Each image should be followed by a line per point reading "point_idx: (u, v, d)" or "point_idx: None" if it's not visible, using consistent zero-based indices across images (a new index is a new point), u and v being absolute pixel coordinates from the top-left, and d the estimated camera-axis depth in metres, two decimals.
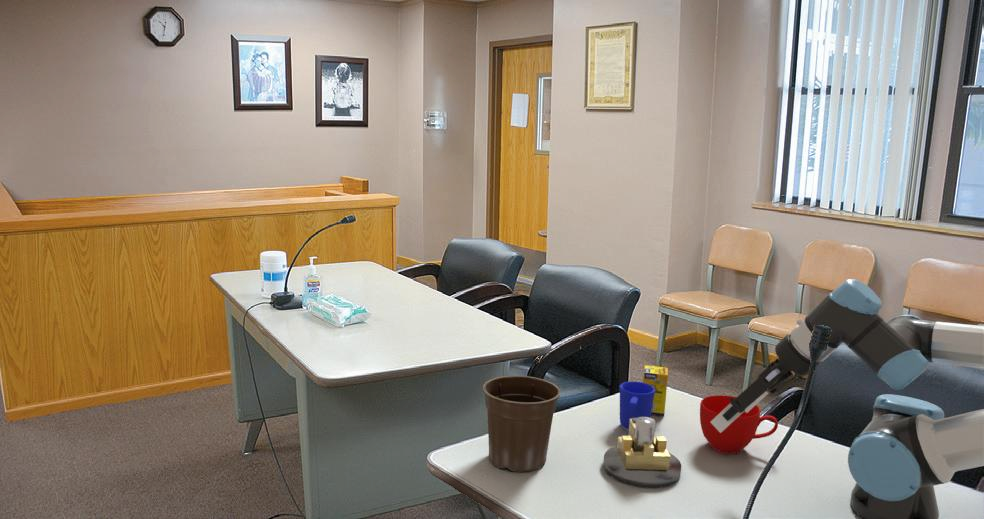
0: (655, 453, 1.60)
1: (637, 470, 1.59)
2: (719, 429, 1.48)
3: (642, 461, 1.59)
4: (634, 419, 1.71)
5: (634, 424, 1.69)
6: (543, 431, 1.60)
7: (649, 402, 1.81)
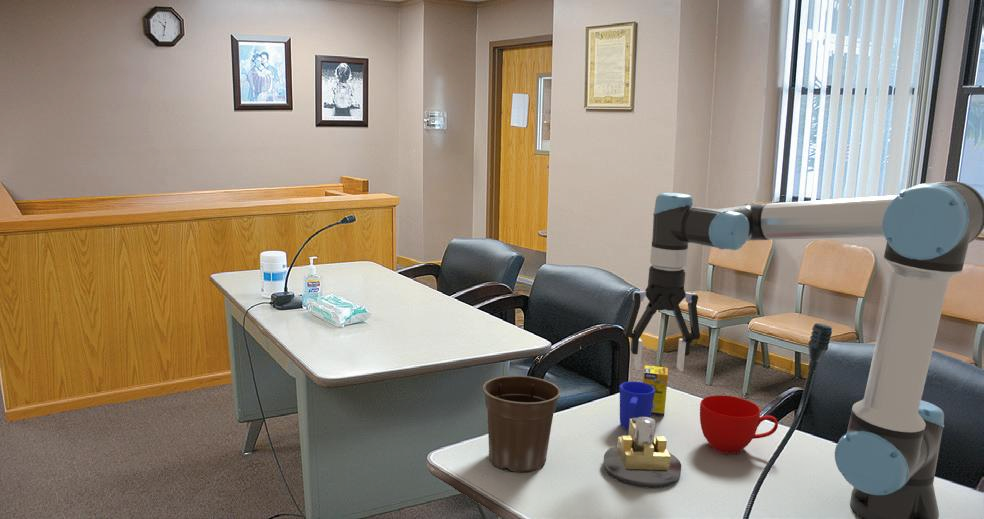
0: (655, 453, 1.60)
1: (637, 470, 1.59)
2: (636, 367, 1.68)
3: (642, 461, 1.59)
4: (634, 419, 1.71)
5: (634, 424, 1.69)
6: (543, 431, 1.60)
7: (649, 402, 1.81)
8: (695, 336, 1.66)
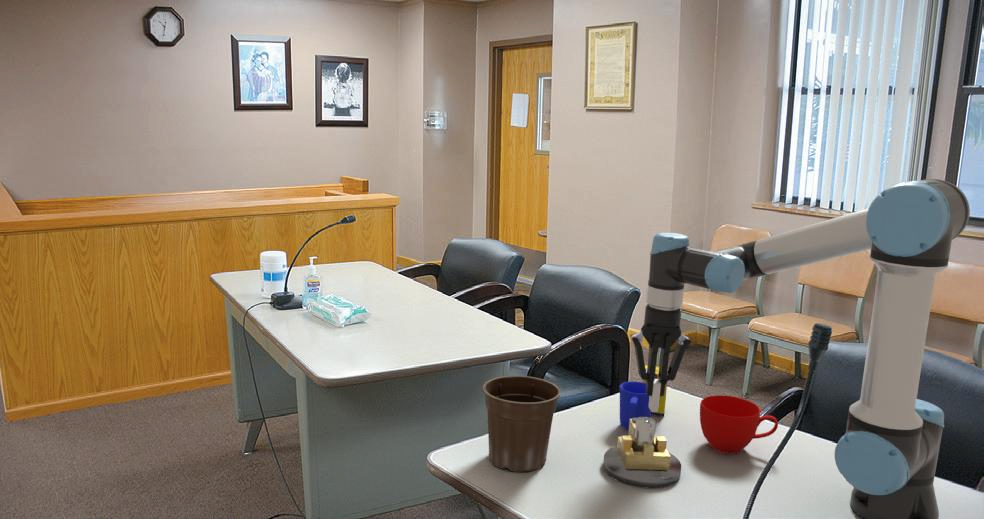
0: (655, 453, 1.60)
1: (637, 470, 1.59)
2: (650, 408, 1.70)
3: (642, 461, 1.59)
4: (634, 419, 1.71)
5: (634, 424, 1.69)
6: (543, 431, 1.60)
7: None
8: (670, 377, 1.68)
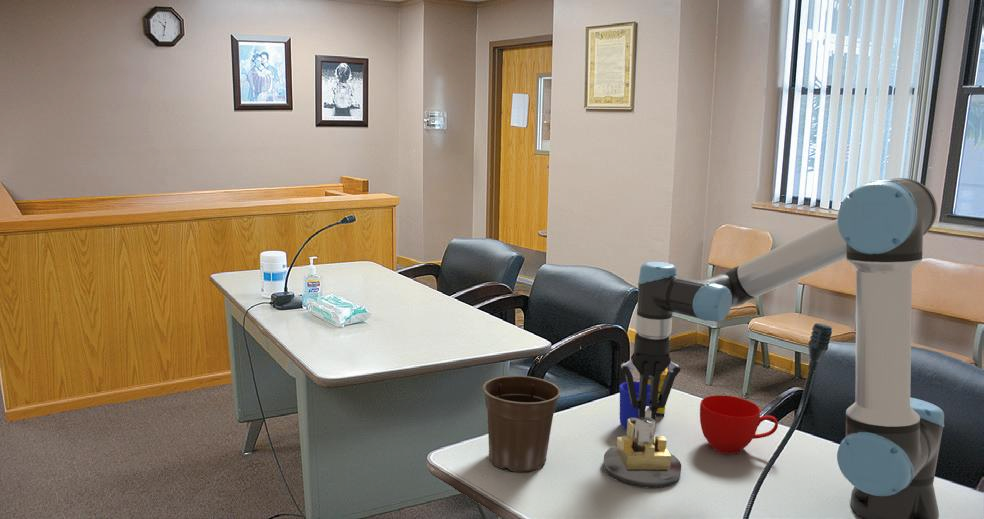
0: (656, 453, 1.60)
1: (637, 470, 1.59)
2: None
3: (643, 461, 1.59)
4: (632, 419, 1.70)
5: (633, 424, 1.69)
6: (543, 431, 1.60)
7: None
8: (661, 404, 1.69)
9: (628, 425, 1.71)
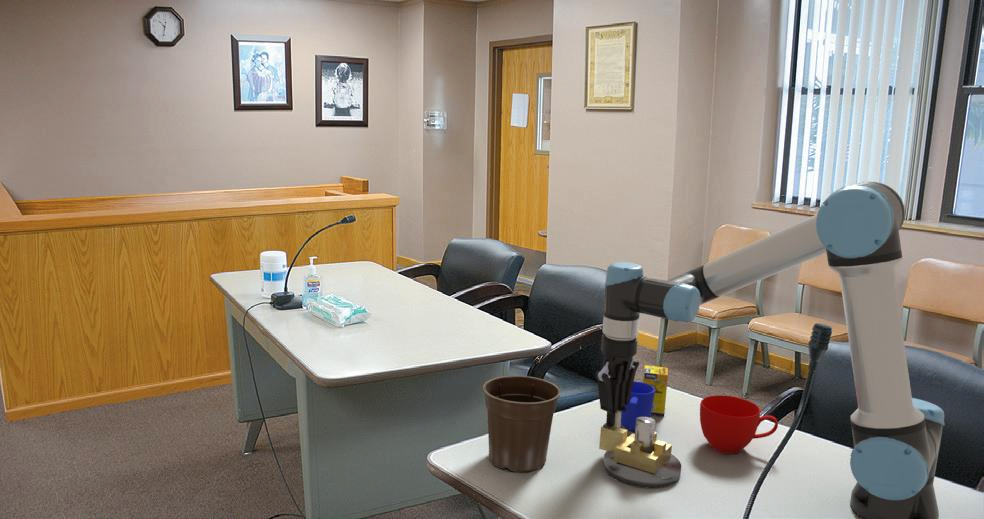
0: None
1: (637, 470, 1.59)
2: None
3: (661, 459, 1.60)
4: (607, 425, 1.67)
5: (614, 430, 1.65)
6: (543, 431, 1.60)
7: (649, 402, 1.81)
8: (626, 402, 1.70)
9: (604, 433, 1.67)
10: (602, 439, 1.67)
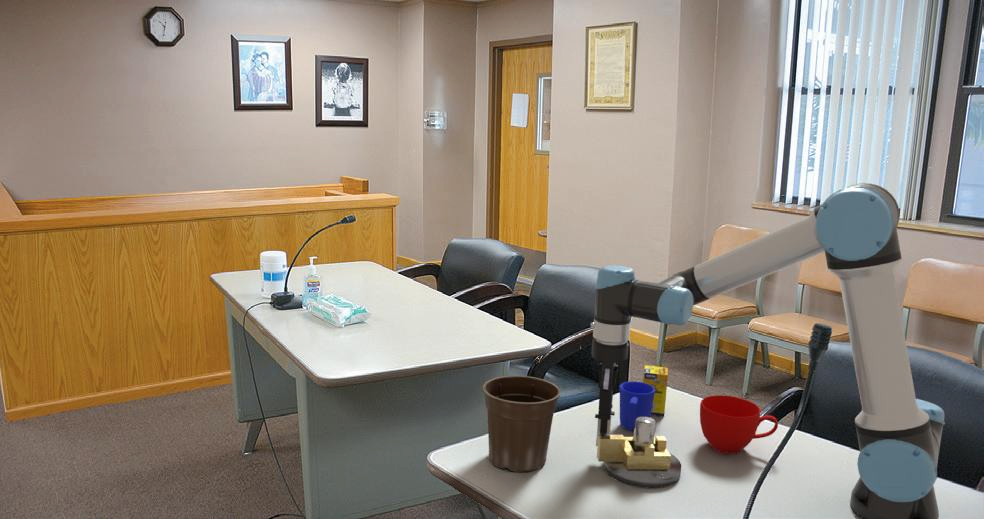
0: None
1: (637, 470, 1.59)
2: None
3: None
4: (605, 435, 1.61)
5: (614, 438, 1.61)
6: (543, 431, 1.60)
7: (649, 402, 1.81)
8: (611, 406, 1.68)
9: (604, 444, 1.61)
10: (602, 451, 1.61)
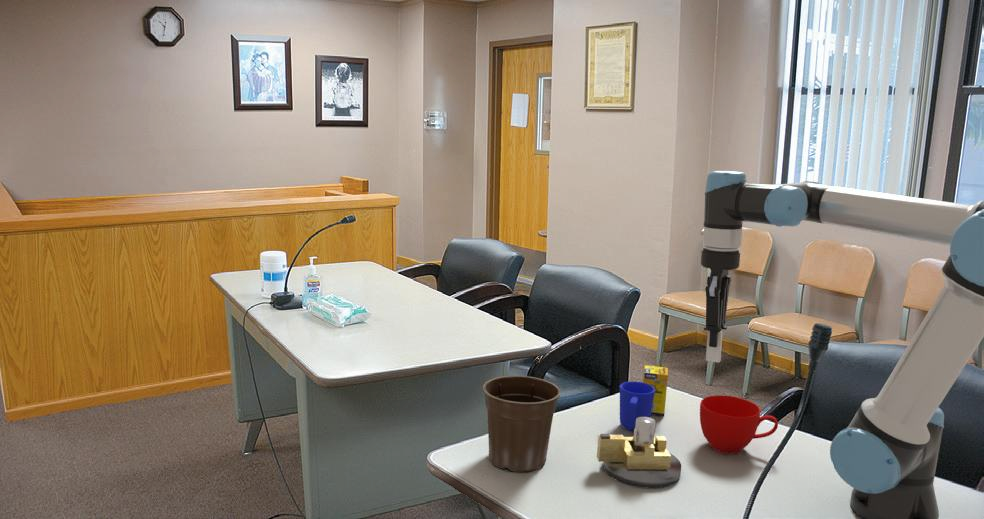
0: None
1: (637, 470, 1.59)
2: (716, 360, 1.60)
3: None
4: (605, 435, 1.61)
5: (614, 438, 1.61)
6: (543, 431, 1.60)
7: (649, 402, 1.81)
8: (724, 320, 1.62)
9: (604, 444, 1.61)
10: (602, 451, 1.61)
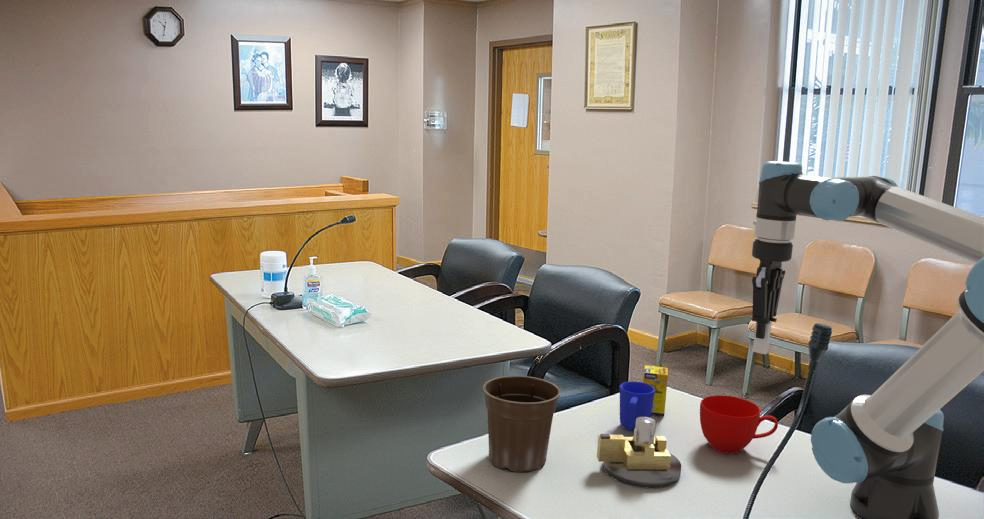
0: None
1: (637, 470, 1.59)
2: (763, 352, 1.59)
3: None
4: (605, 435, 1.61)
5: (614, 438, 1.61)
6: (543, 431, 1.60)
7: (649, 402, 1.81)
8: (775, 313, 1.60)
9: (604, 444, 1.61)
10: (602, 451, 1.61)
